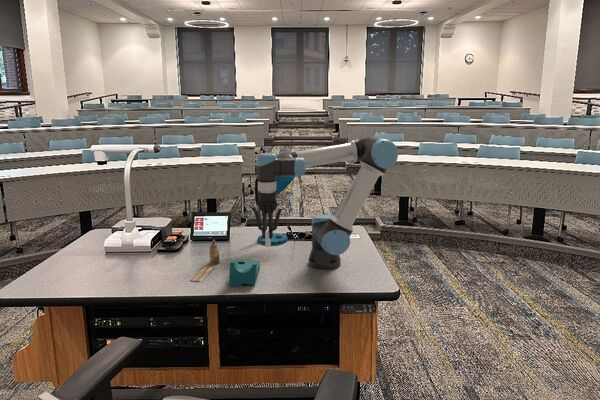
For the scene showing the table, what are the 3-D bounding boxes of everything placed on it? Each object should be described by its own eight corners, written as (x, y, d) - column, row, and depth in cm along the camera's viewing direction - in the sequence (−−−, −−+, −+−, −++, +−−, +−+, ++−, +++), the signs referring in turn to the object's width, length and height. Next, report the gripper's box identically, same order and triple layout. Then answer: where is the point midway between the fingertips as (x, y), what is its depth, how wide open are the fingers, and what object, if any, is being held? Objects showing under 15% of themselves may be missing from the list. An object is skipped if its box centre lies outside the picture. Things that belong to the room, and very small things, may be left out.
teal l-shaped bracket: (254, 288, 202) (256, 264, 199) (228, 285, 202) (230, 262, 200) (259, 271, 219) (261, 250, 217) (235, 269, 220) (237, 247, 217)
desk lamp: (297, 245, 253) (296, 159, 243) (255, 245, 253) (252, 160, 242) (296, 235, 269) (296, 155, 259) (257, 236, 269) (254, 155, 258)
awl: (220, 261, 231) (219, 238, 228) (217, 264, 227) (216, 241, 224) (212, 260, 232) (211, 238, 229) (208, 264, 228) (207, 241, 225)
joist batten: (215, 268, 222) (215, 267, 222) (200, 282, 207) (200, 281, 207) (204, 267, 223) (204, 266, 223) (189, 281, 208) (189, 280, 208)
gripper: (284, 189, 201) (285, 244, 207) (254, 188, 204) (256, 241, 210) (280, 193, 194) (280, 249, 200) (249, 192, 197) (250, 247, 203)
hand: (268, 245), depth 205 cm, fingers closed
